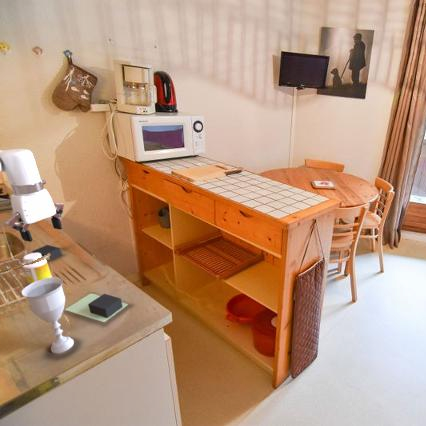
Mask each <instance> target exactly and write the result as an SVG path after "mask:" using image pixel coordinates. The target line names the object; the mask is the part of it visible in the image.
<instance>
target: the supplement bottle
mask: <svg viewBox="0 0 426 426" xmlns="http://www.w3.org/2000/svg"><path fill="white" fill-rule="evenodd" d="M41 257H42V256H41V254H40V253H33V252H31V253H28V254H26V255H24V256H23V261H24V262H23V263H22V265H24V264H26V263H30V262H32V261H35V260H37V259H38V258H41ZM22 269H23V272H24V275H25V278H26V281H27V283H28V285H30V284H31V283H33V282H36V281H38V280H41V279H45V278H51V277H53V276H52V273H51V270H50V266H49V264H48V262H47V260H46V259H44V260H41V261H39V262H36V263H33V264H29V265H24V266H22Z"/></svg>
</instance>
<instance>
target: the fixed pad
mask: <svg viewBox="0 0 426 426" xmlns="http://www.w3.org/2000/svg"><path fill="white" fill-rule="evenodd" d="M99 296H100V297H98V298H97V299H95V300H94V301H92V302H91V303H89V304H88V305H89V309H90V313H93V314H96V315H99V316H103V317H106V318H108V317H109V316H111V315H112V314H114V313H115V312H116V311H118V310H119V309H120V308H122V307H123V306H122V302H123V301H122V298H121V297H116V296H115V295H111V294H107V293H103V294H102V295H99Z"/></svg>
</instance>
